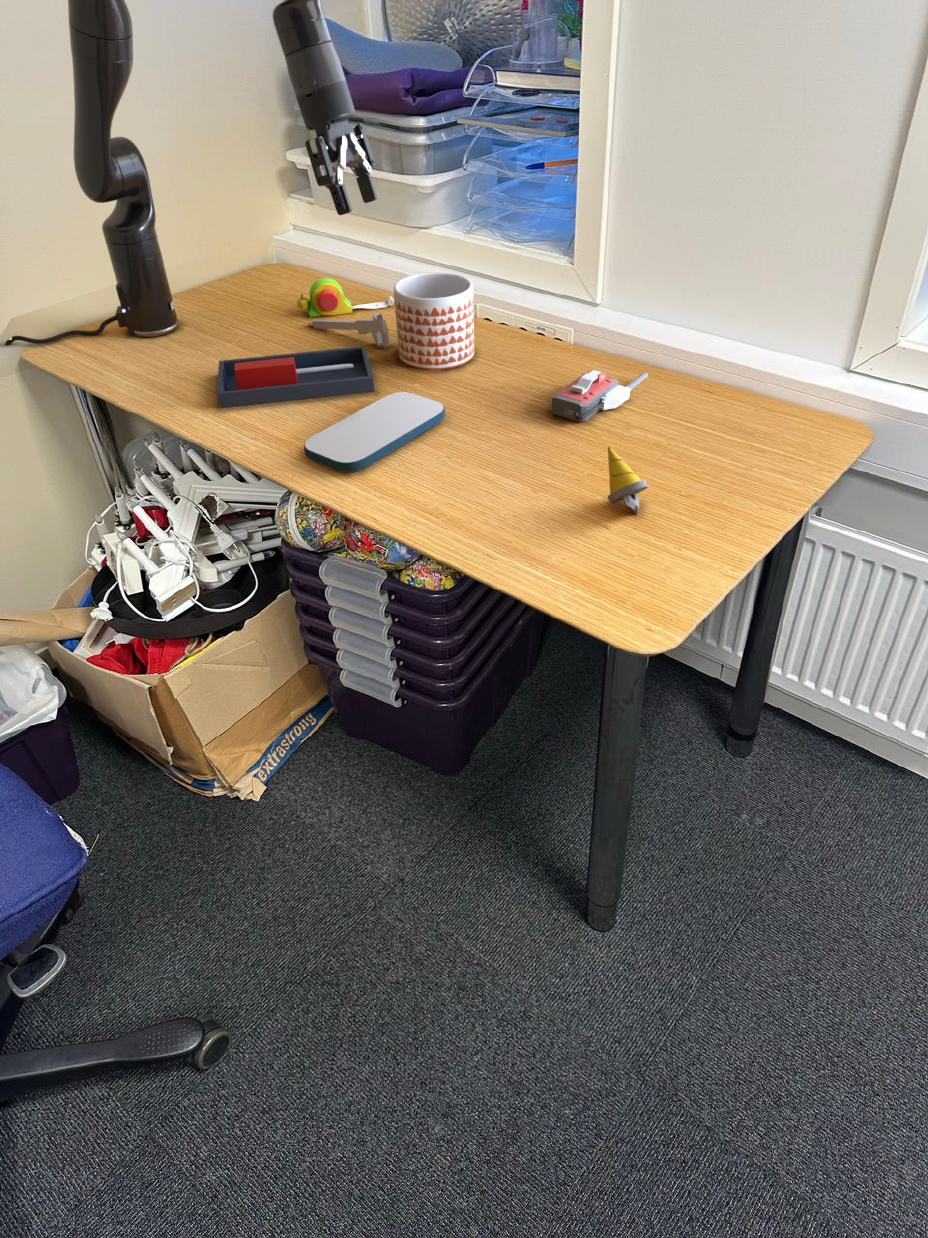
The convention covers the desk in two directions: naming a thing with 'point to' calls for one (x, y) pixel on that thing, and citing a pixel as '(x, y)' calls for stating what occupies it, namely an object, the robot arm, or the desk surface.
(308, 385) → the tray
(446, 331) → the planter
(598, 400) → the walkie-talkie
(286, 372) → the screwdriver
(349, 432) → the external hard drive
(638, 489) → the yellow cone
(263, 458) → the desk surface
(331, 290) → the toy measuring tape
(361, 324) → the caliper
